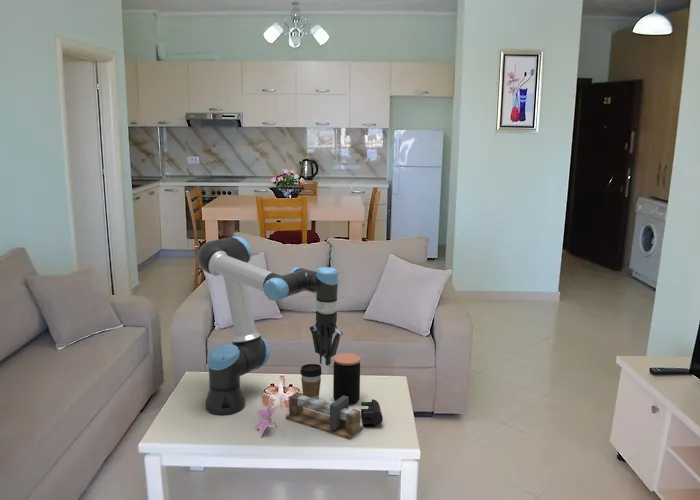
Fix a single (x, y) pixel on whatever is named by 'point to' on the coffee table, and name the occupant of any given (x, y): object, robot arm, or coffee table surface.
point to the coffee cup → (311, 380)
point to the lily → (265, 418)
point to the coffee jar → (346, 377)
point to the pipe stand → (322, 416)
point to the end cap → (371, 414)
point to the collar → (334, 411)
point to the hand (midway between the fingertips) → (324, 372)
